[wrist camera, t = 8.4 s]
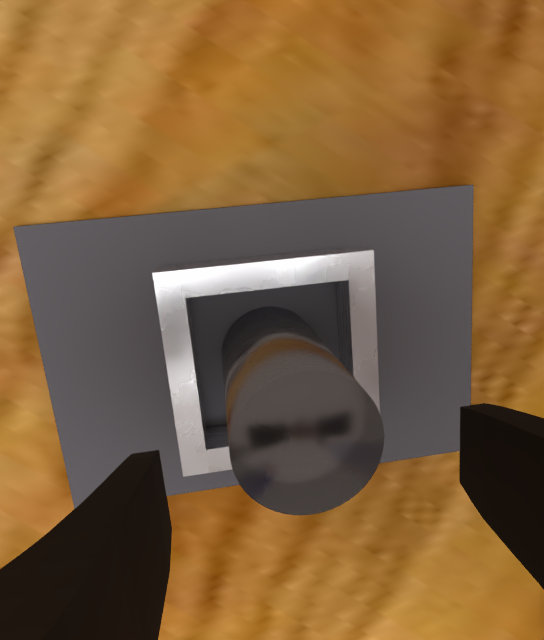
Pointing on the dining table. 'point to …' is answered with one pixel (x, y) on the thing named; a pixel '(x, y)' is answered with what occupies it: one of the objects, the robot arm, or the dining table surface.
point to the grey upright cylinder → (295, 416)
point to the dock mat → (224, 309)
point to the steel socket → (247, 275)
